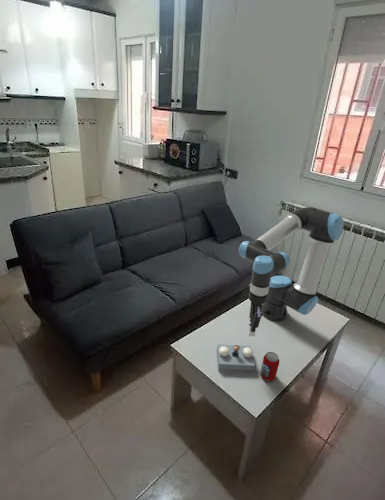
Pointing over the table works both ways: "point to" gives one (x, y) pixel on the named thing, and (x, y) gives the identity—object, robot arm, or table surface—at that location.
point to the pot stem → (236, 349)
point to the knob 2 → (247, 352)
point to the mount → (235, 360)
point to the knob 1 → (223, 351)
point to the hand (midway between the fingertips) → (251, 334)
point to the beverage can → (269, 366)
